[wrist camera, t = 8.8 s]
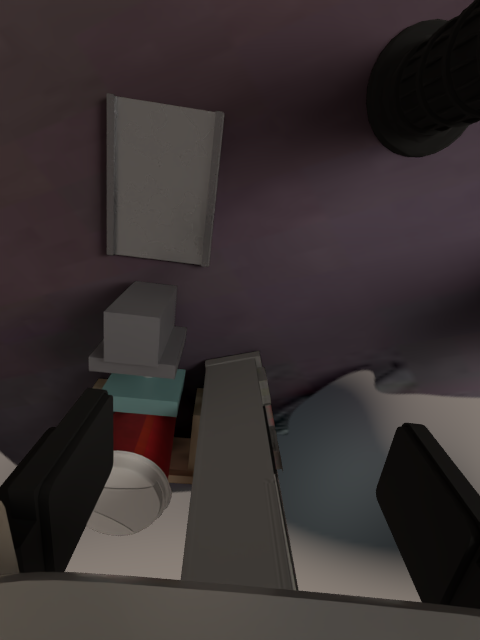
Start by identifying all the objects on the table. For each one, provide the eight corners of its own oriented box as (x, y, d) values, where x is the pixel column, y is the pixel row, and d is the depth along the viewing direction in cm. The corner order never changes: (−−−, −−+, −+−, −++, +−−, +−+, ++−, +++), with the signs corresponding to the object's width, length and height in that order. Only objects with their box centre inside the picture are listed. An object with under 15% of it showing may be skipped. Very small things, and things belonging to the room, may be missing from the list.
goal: (206, 388, 39) (202, 420, 33) (199, 446, 41) (195, 484, 36) (98, 378, 38) (77, 409, 32) (99, 437, 41) (79, 475, 35)
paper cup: (111, 416, 40) (54, 527, 26) (128, 360, 37) (74, 451, 24) (177, 434, 41) (153, 550, 28) (197, 381, 38) (182, 480, 25)
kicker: (192, 287, 33) (181, 320, 25) (184, 382, 37) (171, 439, 29) (119, 279, 33) (82, 309, 24) (118, 376, 36) (85, 431, 28)
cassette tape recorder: (278, 450, 42) (343, 773, 19) (229, 458, 42) (232, 788, 19) (261, 349, 37) (318, 614, 14) (205, 359, 37) (169, 637, 14)
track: (224, 114, 29) (224, 111, 28) (209, 264, 34) (208, 267, 33) (109, 96, 29) (105, 93, 28) (109, 252, 33) (105, 254, 32)
